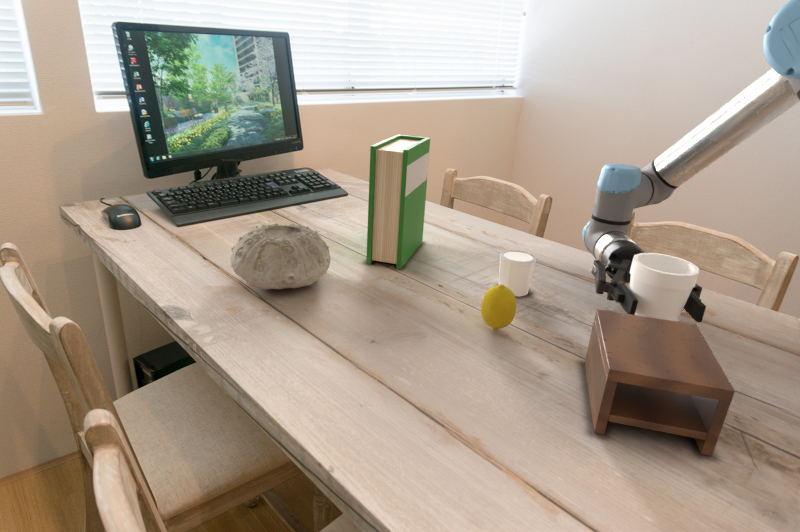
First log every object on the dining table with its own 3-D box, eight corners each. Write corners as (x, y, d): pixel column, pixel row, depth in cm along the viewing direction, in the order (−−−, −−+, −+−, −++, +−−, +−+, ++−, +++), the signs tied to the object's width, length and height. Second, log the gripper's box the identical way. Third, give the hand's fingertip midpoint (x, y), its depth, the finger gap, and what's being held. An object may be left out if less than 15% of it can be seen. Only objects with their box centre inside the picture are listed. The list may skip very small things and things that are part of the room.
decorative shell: (331, 301, 92) (331, 247, 88) (224, 302, 89) (220, 247, 85) (329, 263, 108) (329, 216, 104) (239, 262, 106) (236, 214, 102)
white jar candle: (504, 279, 105) (509, 246, 103) (537, 289, 102) (542, 255, 99) (488, 290, 100) (493, 256, 97) (522, 301, 96) (528, 265, 94)
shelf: (679, 380, 75) (696, 324, 72) (712, 456, 61) (735, 391, 57) (584, 363, 78) (596, 309, 74) (593, 433, 63) (609, 369, 60)
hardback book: (400, 269, 107) (408, 150, 98) (366, 263, 109) (370, 146, 100) (422, 242, 123) (430, 137, 114) (392, 237, 125) (397, 134, 116)
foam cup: (603, 327, 89) (619, 255, 84) (644, 320, 92) (662, 250, 87) (647, 356, 81) (669, 278, 76) (690, 347, 84) (713, 272, 79)
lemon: (498, 341, 82) (504, 295, 79) (471, 327, 86) (476, 282, 83) (519, 331, 86) (526, 286, 83) (493, 318, 90) (499, 274, 87)
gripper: (674, 280, 101) (734, 339, 81) (558, 271, 102) (588, 327, 82) (684, 244, 99) (749, 294, 78) (565, 234, 100) (598, 282, 79)
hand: (667, 311), depth 80 cm, fingers closed on foam cup, 9 cm apart
